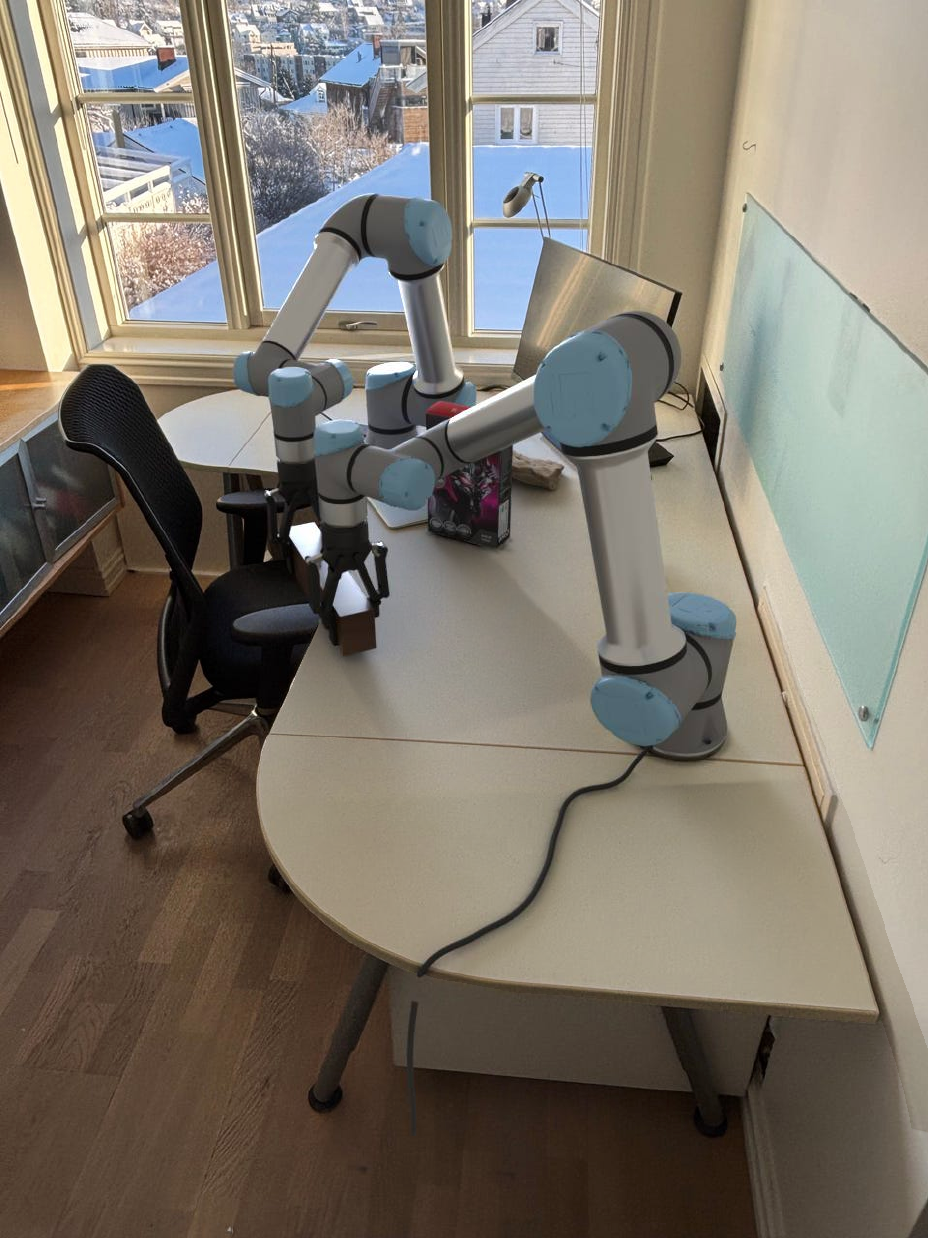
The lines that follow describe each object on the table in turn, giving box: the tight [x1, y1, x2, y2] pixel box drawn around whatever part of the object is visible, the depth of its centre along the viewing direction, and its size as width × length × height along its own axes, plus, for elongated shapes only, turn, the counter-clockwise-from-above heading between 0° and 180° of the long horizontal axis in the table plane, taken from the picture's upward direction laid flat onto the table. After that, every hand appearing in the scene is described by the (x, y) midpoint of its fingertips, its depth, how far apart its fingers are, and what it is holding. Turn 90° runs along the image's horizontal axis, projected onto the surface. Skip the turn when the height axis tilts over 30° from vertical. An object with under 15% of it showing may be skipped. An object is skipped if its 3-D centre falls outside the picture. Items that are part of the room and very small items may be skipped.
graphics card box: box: [425, 401, 514, 550], centre depth 187 cm, size 17×7×27 cm, turn 62°
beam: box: [289, 521, 377, 657], centre depth 167 cm, size 34×6×8 cm, turn 25°
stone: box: [512, 449, 565, 490], centre depth 217 cm, size 21×15×6 cm
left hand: (308, 567), depth 178 cm, fingers closed on beam, 6 cm apart
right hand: (352, 637), depth 159 cm, fingers closed on beam, 6 cm apart
